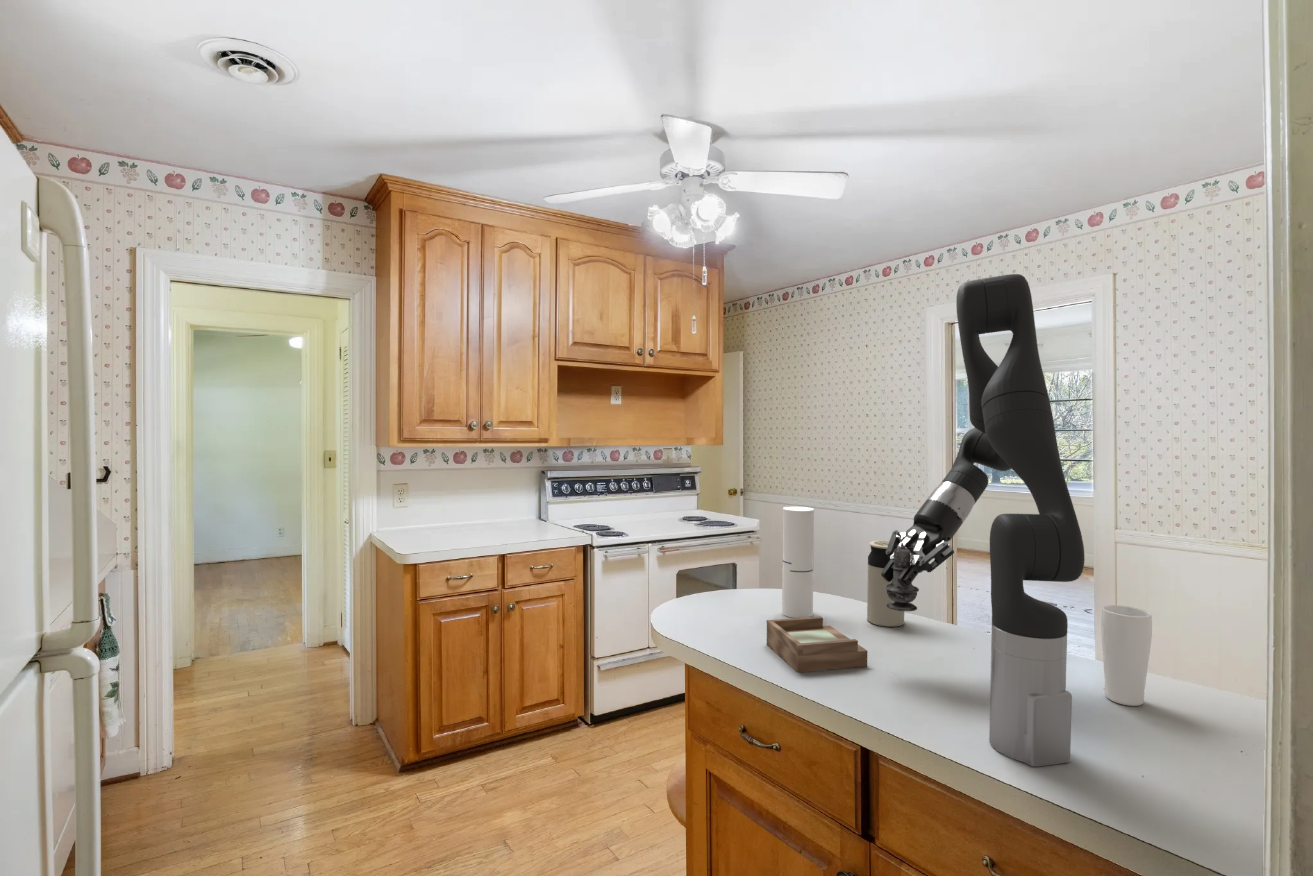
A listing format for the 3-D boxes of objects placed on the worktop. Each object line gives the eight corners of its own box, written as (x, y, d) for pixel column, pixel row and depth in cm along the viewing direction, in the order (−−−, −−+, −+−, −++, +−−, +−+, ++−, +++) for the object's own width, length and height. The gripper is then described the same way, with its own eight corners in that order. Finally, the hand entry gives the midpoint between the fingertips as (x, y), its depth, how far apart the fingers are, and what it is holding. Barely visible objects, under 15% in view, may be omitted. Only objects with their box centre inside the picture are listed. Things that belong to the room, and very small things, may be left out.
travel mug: (859, 620, 149) (860, 542, 148) (880, 614, 154) (881, 538, 153) (890, 630, 143) (891, 548, 142) (911, 623, 147) (912, 544, 147)
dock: (867, 666, 122) (867, 640, 122) (797, 672, 119) (798, 645, 119) (829, 639, 137) (829, 615, 136) (766, 644, 134) (766, 620, 133)
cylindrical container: (794, 607, 159) (795, 505, 158) (819, 614, 154) (820, 509, 153) (775, 612, 155) (776, 508, 154) (799, 620, 149) (801, 511, 148)
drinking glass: (1146, 697, 109) (1149, 608, 108) (1152, 713, 103) (1155, 619, 103) (1097, 688, 112) (1100, 602, 112) (1100, 703, 107) (1103, 612, 106)
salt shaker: (921, 612, 116) (922, 546, 116) (887, 610, 118) (887, 544, 117) (915, 603, 122) (916, 539, 122) (882, 601, 123) (883, 538, 123)
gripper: (906, 493, 129) (855, 560, 124) (964, 502, 115) (910, 577, 111) (926, 518, 131) (877, 585, 127) (986, 530, 118) (933, 604, 113)
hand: (893, 581), depth 119 cm, fingers closed on salt shaker, 3 cm apart
